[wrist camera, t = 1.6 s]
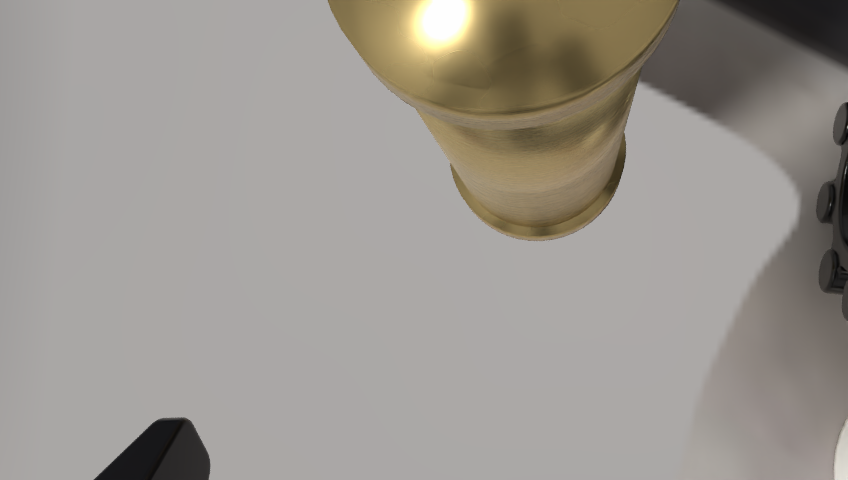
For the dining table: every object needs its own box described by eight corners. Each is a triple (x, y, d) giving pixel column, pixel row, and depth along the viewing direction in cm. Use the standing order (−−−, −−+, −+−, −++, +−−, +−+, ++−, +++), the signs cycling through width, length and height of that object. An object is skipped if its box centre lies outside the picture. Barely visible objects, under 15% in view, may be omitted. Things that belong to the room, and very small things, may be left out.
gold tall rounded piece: (588, 265, 22) (618, 160, 9) (430, 207, 23) (263, 43, 10) (647, 106, 22) (756, -206, 10) (488, 57, 23) (396, -284, 11)
